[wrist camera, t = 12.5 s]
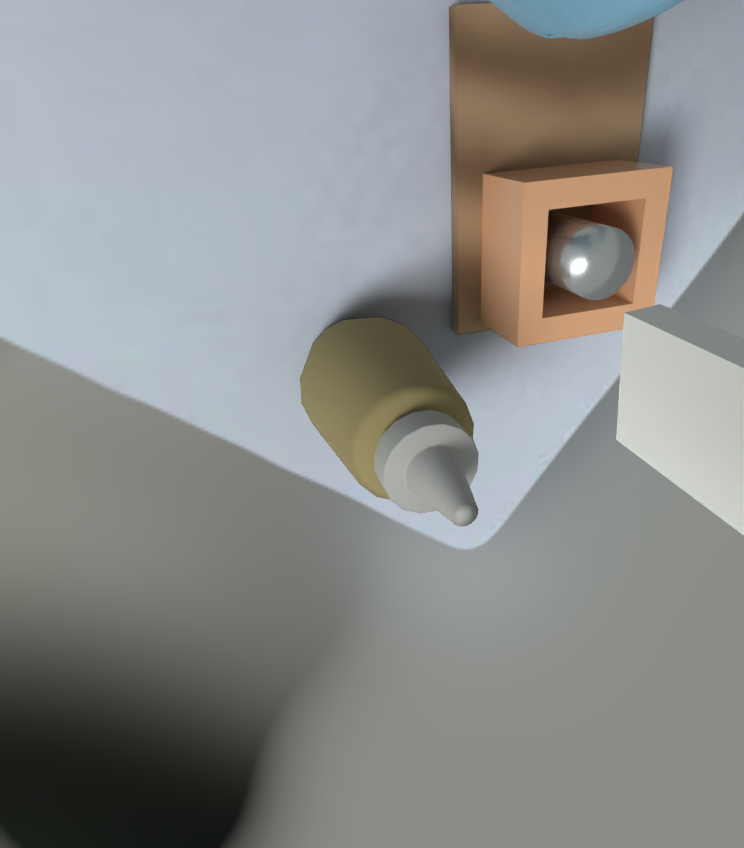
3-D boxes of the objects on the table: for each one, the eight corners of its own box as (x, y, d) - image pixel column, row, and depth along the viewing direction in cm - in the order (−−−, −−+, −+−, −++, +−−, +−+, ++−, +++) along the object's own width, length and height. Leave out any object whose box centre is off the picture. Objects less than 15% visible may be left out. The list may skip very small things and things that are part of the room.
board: (449, 7, 35) (456, 4, 34) (644, -3, 37) (656, -6, 36) (452, 330, 43) (458, 334, 42) (612, 303, 45) (621, 307, 45)
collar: (482, 173, 38) (524, 182, 34) (617, 159, 40) (673, 166, 36) (480, 322, 42) (517, 347, 38) (603, 302, 44) (651, 324, 40)
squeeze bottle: (422, 307, 42) (579, 428, 26) (397, 422, 45) (523, 591, 29) (298, 292, 39) (391, 417, 23) (280, 415, 42) (351, 598, 26)
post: (519, 215, 40) (572, 231, 34) (577, 207, 41) (638, 222, 35) (516, 280, 41) (567, 305, 36) (572, 271, 42) (630, 294, 37)
